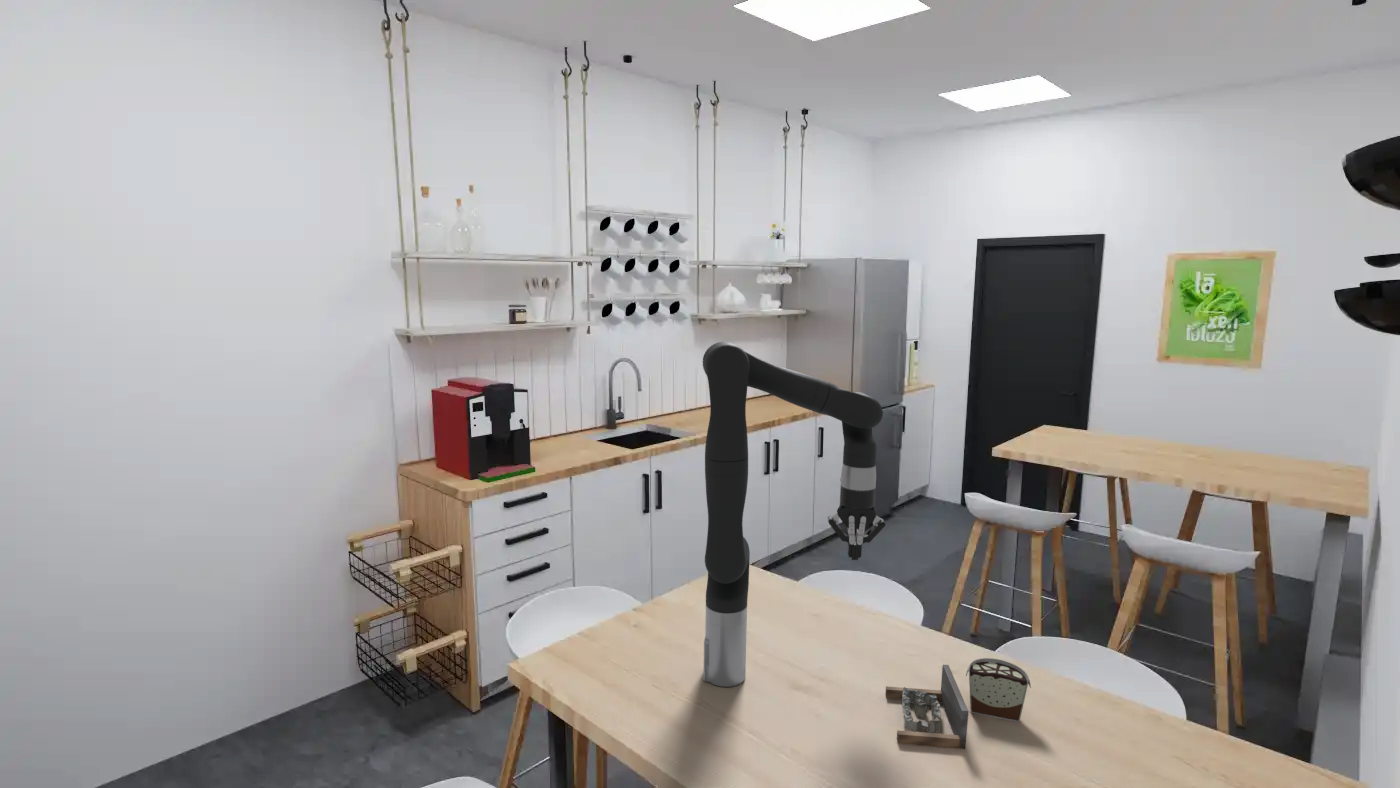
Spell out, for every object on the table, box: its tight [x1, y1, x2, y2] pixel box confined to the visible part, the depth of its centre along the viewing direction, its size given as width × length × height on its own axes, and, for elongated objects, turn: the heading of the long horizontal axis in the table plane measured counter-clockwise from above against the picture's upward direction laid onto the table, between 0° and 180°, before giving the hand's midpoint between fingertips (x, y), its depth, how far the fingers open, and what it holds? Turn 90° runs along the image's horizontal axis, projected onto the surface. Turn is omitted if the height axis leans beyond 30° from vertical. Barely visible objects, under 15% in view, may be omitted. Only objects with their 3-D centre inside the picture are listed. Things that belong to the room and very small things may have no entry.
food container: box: [965, 657, 1032, 723], centre depth 148 cm, size 12×6×10 cm, turn 71°
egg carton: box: [901, 686, 942, 734], centre depth 146 cm, size 11×8×4 cm
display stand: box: [884, 664, 970, 750], centre depth 144 cm, size 13×16×8 cm
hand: (854, 558), depth 159 cm, fingers closed
